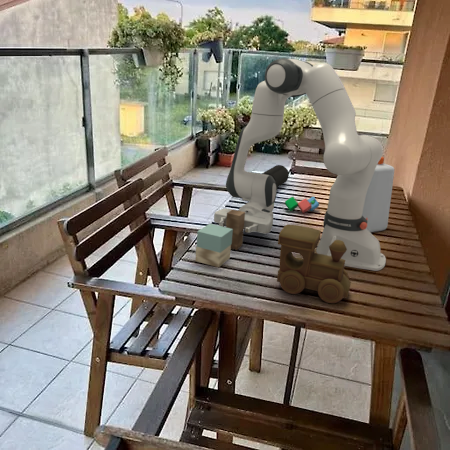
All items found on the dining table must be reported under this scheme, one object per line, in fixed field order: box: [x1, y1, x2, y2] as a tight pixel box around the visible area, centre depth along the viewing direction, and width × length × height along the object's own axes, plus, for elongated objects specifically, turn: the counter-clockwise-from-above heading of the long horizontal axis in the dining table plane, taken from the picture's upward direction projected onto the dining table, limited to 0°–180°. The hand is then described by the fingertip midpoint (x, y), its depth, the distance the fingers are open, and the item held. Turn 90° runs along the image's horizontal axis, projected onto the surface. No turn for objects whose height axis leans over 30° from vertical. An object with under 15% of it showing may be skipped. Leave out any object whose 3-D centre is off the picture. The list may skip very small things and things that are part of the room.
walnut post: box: [225, 209, 245, 251], centre depth 147 cm, size 4×4×12 cm
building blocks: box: [284, 196, 320, 214], centre depth 189 cm, size 8×8×12 cm
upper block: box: [196, 223, 233, 253], centre depth 136 cm, size 8×8×5 cm
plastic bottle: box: [362, 156, 395, 233], centre depth 172 cm, size 15×15×28 cm
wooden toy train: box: [276, 223, 352, 304], centre depth 121 cm, size 20×11×17 cm, turn 69°
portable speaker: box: [261, 164, 290, 189], centre depth 219 cm, size 26×10×10 cm, turn 155°
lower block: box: [195, 245, 232, 268], centre depth 138 cm, size 8×8×5 cm
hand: (233, 227), depth 146 cm, fingers open, 8 cm apart
